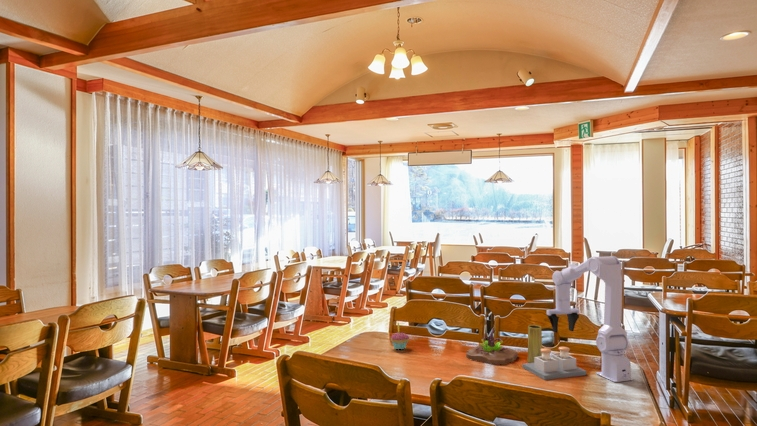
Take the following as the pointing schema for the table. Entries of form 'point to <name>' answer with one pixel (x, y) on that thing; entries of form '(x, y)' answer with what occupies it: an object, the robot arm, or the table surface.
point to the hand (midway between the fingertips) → (563, 331)
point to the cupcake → (399, 339)
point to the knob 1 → (546, 354)
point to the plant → (492, 352)
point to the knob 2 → (564, 352)
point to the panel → (554, 367)
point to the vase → (534, 342)
